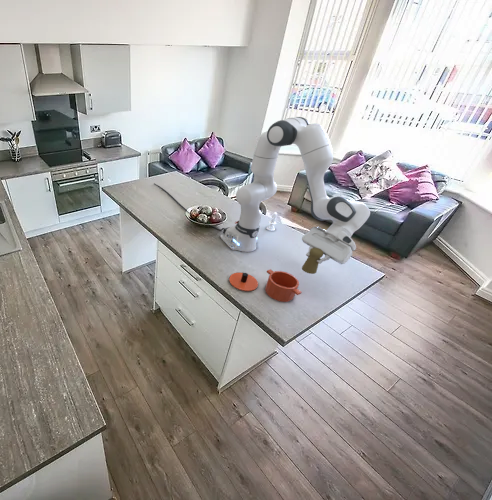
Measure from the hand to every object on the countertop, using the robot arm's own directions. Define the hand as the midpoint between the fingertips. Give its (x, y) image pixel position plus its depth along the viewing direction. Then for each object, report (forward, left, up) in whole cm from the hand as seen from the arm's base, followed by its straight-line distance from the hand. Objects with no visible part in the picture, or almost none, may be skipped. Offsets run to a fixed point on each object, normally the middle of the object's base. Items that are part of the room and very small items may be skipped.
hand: (312, 259), depth 127 cm
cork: (0, +1, -6) cm, 6 cm away
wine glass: (-51, +34, -19) cm, 64 cm away
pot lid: (-16, -20, -18) cm, 32 cm away
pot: (-4, -9, -19) cm, 21 cm away
